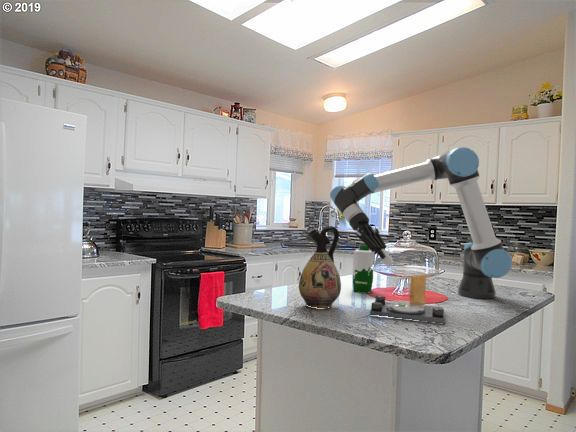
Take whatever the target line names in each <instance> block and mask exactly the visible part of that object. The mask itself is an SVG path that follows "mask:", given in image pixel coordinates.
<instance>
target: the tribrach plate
mask: <svg viewBox="0 0 576 432" xmlns="http://www.w3.org/2000/svg"><path fill="white" fill-rule="evenodd" d="M374 299H375V300H374V301H373V302H371V308H370V309H369V316H370V315H379V316H388V317H394V318H402V319H412V320H419V321H427V322H435V323H444V324H446V322H445V319H446V318H445V309H444V307H443V306H436V305H426V304H425V312H424V313H420V314H406V313H398V312H394V311H391V310H388V309H387V302H388V301H386V296H385V295H381V294H380V295H379V294H377V295H375V298H374ZM435 323H434V324H435Z"/></svg>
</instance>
